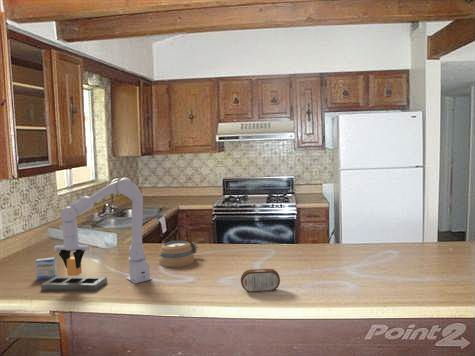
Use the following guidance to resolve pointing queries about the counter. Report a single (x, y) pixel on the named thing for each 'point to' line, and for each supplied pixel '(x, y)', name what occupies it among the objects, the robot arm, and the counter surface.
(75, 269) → the square block
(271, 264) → the counter surface
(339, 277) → the counter surface
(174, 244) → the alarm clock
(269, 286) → the brown portable speaker
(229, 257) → the counter surface
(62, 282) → the gray board with holes
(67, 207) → the robot arm
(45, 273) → the medicine box
